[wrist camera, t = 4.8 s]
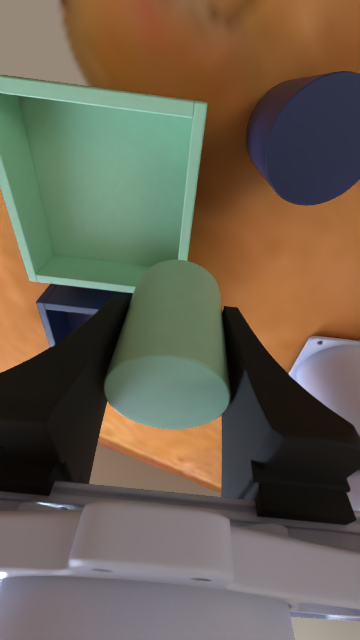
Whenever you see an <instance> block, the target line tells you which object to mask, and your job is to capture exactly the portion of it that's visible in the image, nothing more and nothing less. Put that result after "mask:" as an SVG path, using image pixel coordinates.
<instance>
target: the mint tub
mask: <svg viewBox="0 0 360 640" xmlns="http://www.w3.org/2000/svg"><path fill="white" fill-rule="evenodd" d="M207 107H208V104H207V103H206V102H204V101H196V100H189V99H181V98H174V97H166V96H158V95H151V94H143V93H136V92H128V91H121V90H113V89H105V88H98V87H90V86H83V85H75V84H67V83H60V82H51V81H44V80H37V79H29V78H22V77H14V76H7V75H0V188H1V191H2V195H3V198H4V201H5V204H6V207H7V211H8V214H9V217H10V220H11V224H12V227H13V230H14V233H15V236H16V240H17V243H18V246H19V249H20V252H21V256H22V259H23V262H24V265H25V269H26V272H27V275H28V278H29V281H35V282H37V281H38V282H43V283H52V284H60V285H69V286H77V287H86V288H94V289H102V290H111V291H119V292H128V293H134V290H135V287H136V284H137V282H138V279H139V278H140V276H141V275H142V274H143V273H144V272H145V271H146V270H147V269H148V268H150V267H151V266H153V265H155V264H157V263H159V262H163V261H167V260H185V261H187V259H188V252H189V244H190V237H191V229H192V221H193V214H194V206H195V198H196V191H197V183H198V176H199V168H200V160H201V153H202V145H203V137H204V130H205V122H206V114H207Z"/></svg>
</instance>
